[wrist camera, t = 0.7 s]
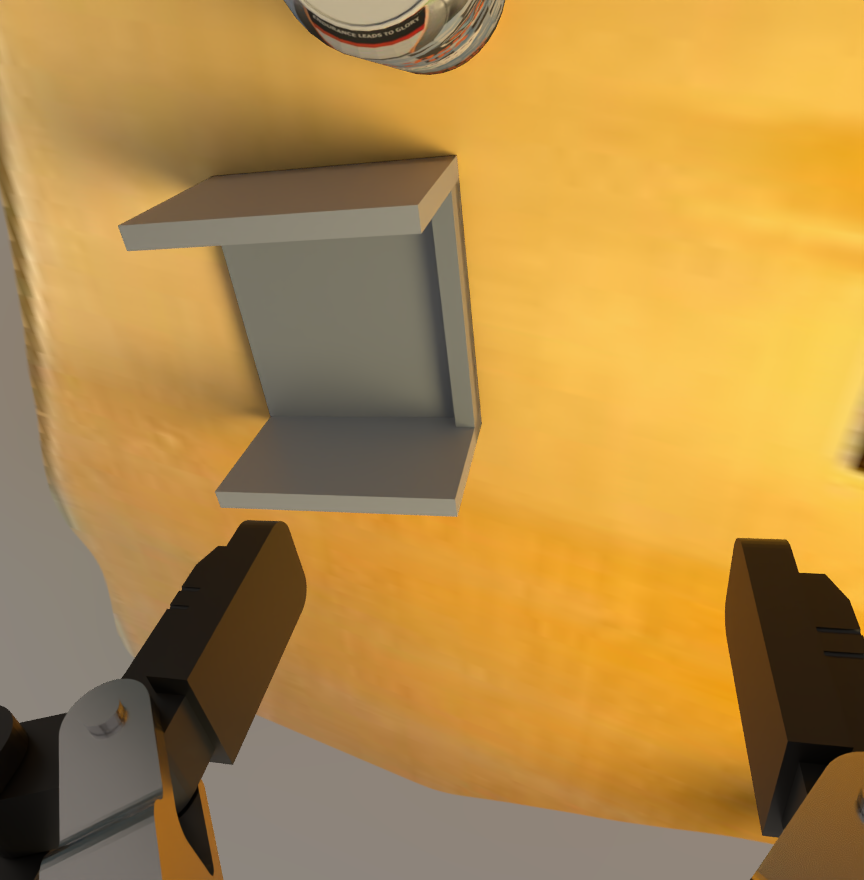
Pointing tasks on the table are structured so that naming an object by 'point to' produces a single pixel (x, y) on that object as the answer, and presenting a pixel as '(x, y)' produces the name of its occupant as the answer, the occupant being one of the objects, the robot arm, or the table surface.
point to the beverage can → (403, 30)
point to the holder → (344, 330)
